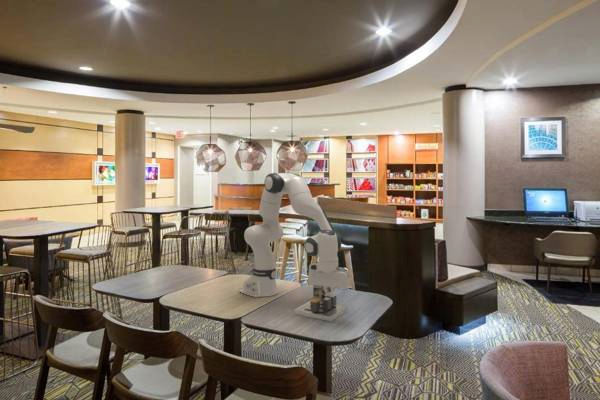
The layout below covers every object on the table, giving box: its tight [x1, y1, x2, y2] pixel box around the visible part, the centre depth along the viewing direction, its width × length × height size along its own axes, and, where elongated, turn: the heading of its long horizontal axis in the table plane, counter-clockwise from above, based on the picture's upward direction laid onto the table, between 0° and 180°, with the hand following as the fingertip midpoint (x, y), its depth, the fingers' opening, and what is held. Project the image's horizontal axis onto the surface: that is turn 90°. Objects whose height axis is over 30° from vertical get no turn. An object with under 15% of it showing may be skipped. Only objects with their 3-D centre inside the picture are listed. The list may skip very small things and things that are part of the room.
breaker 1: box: [322, 297, 332, 310], centre depth 179 cm, size 3×4×5 cm
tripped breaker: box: [309, 298, 320, 312], centre depth 177 cm, size 3×4×5 cm
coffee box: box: [312, 285, 331, 302], centre depth 199 cm, size 9×6×16 cm
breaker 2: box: [327, 294, 337, 307], centre depth 183 cm, size 3×4×5 cm
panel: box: [293, 300, 348, 323], centre depth 181 cm, size 20×16×2 cm
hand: (329, 296), depth 173 cm, fingers closed
